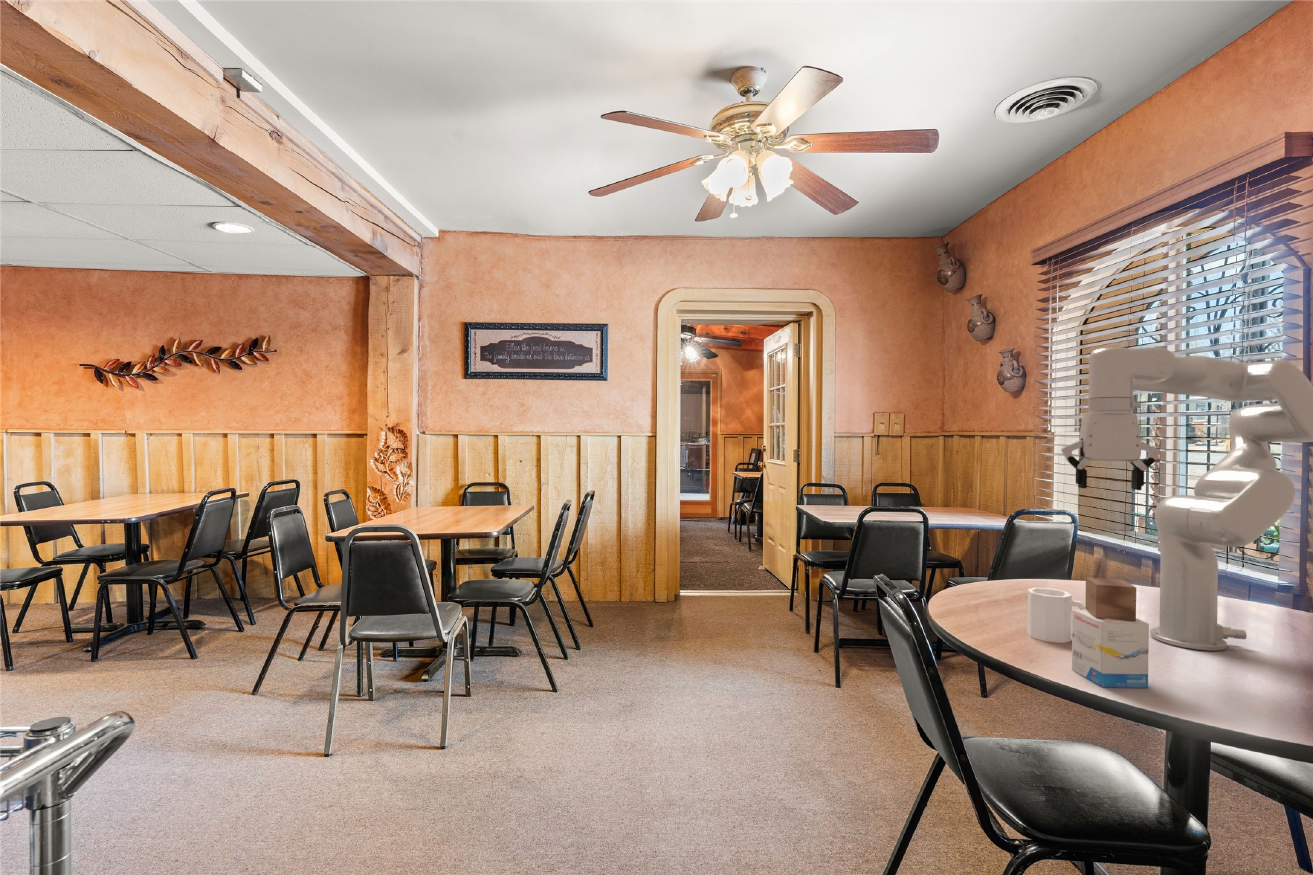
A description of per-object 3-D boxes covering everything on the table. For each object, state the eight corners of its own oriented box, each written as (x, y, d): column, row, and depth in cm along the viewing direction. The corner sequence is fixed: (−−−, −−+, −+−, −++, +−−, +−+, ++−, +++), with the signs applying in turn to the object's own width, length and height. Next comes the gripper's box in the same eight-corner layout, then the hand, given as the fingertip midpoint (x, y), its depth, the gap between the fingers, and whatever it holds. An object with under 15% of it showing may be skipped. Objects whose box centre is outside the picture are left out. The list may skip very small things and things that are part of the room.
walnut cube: (1123, 612, 116) (1123, 580, 116) (1135, 621, 110) (1136, 587, 110) (1085, 608, 118) (1085, 577, 118) (1095, 617, 112) (1096, 584, 112)
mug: (1024, 637, 137) (1025, 593, 137) (1029, 628, 144) (1030, 585, 144) (1091, 649, 129) (1091, 602, 129) (1093, 638, 136) (1093, 594, 136)
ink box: (1150, 688, 110) (1151, 622, 110) (1101, 687, 110) (1102, 621, 110) (1115, 670, 118) (1116, 608, 118) (1070, 669, 118) (1071, 607, 118)
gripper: (1151, 407, 132) (1150, 488, 132) (1057, 408, 137) (1056, 485, 137) (1168, 406, 125) (1166, 491, 125) (1068, 406, 130) (1067, 488, 130)
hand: (1109, 488), depth 131 cm, fingers open, 9 cm apart
